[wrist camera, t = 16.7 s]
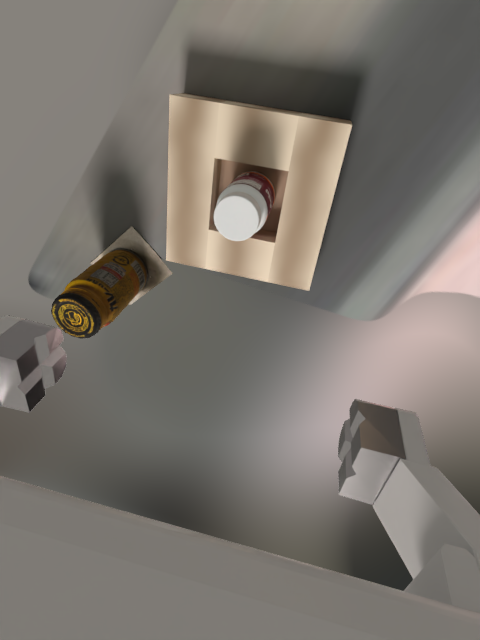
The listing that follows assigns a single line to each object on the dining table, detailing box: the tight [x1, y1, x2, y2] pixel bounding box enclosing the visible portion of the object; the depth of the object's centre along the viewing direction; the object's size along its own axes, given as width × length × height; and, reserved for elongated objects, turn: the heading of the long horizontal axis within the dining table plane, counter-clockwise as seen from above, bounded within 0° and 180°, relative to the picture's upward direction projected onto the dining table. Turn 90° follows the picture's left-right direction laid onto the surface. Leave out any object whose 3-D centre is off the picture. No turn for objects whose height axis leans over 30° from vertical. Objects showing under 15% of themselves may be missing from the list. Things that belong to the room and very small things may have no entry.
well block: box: [166, 93, 352, 291], centre depth 39 cm, size 16×16×4 cm
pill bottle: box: [214, 171, 275, 241], centre depth 36 cm, size 5×5×8 cm
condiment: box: [51, 226, 172, 338], centre depth 44 cm, size 7×8×12 cm
